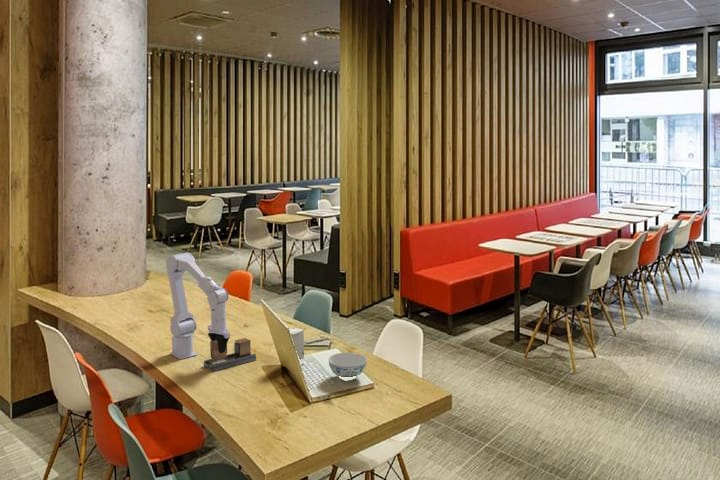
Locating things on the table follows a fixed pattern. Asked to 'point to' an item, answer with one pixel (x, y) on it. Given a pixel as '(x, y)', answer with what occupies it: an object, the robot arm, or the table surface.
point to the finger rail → (233, 357)
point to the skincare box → (298, 341)
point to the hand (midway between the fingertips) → (219, 351)
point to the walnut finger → (217, 351)
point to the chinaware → (347, 364)
